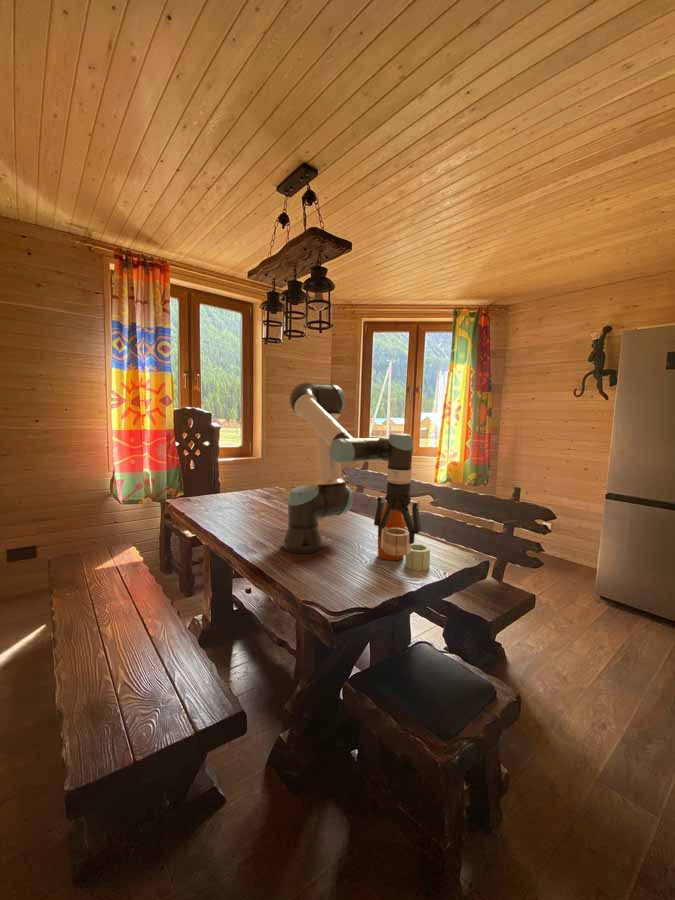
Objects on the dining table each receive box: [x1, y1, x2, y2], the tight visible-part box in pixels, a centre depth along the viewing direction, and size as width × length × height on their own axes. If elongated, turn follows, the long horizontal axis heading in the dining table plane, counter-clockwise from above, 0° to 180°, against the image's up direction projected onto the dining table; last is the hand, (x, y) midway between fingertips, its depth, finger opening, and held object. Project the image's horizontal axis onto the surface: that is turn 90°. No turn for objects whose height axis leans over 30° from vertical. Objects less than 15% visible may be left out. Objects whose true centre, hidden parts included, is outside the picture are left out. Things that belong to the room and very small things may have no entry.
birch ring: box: [383, 528, 409, 556], centre depth 122 cm, size 8×8×6 cm
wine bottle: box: [377, 502, 406, 561], centre depth 135 cm, size 10×10×30 cm
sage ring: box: [404, 542, 431, 572], centre depth 128 cm, size 8×8×6 cm
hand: (395, 549), depth 122 cm, fingers closed on birch ring, 8 cm apart
